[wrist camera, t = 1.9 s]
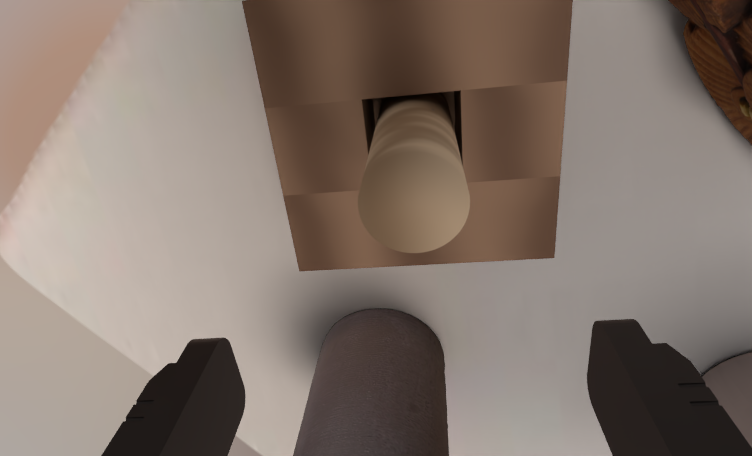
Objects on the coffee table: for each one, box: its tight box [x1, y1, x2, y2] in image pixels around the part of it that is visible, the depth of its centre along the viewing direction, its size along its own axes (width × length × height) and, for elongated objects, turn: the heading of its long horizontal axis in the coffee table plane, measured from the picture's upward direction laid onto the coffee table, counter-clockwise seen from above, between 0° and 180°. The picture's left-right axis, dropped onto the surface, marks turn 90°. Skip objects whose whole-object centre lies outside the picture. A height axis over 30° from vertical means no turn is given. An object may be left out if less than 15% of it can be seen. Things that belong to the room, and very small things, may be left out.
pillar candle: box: [293, 309, 449, 456], centre depth 32 cm, size 10×10×15 cm
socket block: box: [242, 0, 573, 271], centre depth 26 cm, size 14×14×6 cm
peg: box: [358, 92, 470, 253], centre depth 23 cm, size 4×4×12 cm
